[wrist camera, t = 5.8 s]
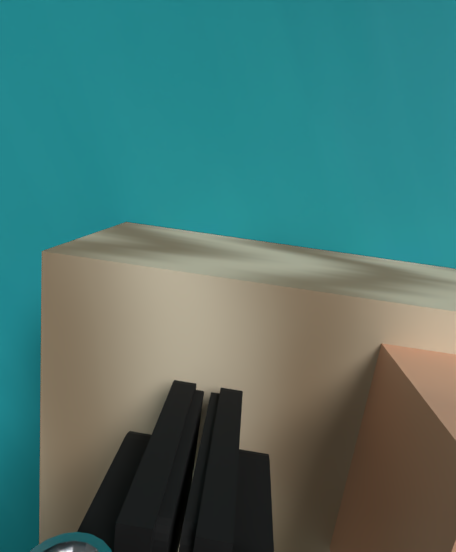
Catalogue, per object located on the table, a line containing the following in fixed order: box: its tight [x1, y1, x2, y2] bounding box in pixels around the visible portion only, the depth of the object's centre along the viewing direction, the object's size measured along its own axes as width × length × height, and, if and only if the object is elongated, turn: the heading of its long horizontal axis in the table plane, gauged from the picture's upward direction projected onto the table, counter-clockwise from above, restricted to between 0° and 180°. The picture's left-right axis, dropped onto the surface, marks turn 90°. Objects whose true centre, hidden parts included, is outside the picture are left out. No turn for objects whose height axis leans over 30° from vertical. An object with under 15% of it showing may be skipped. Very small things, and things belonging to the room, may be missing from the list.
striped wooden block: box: [39, 222, 456, 552], centre depth 14 cm, size 15×16×6 cm
